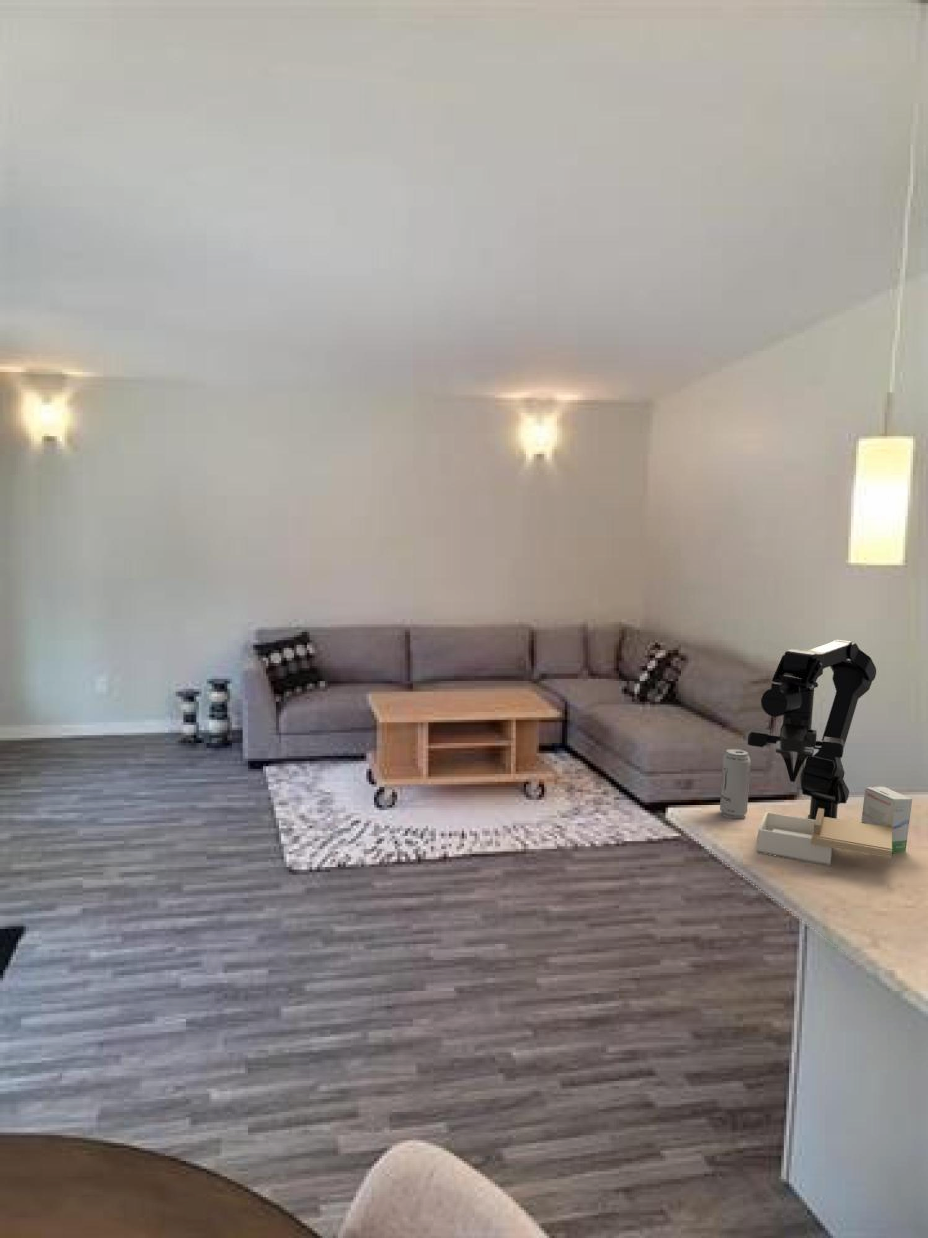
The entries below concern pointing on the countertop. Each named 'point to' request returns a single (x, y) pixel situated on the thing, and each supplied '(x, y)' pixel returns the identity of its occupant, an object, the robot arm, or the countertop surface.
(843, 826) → the lid
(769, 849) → the mailer box
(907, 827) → the ink box
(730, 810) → the energy drink can
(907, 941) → the countertop surface
